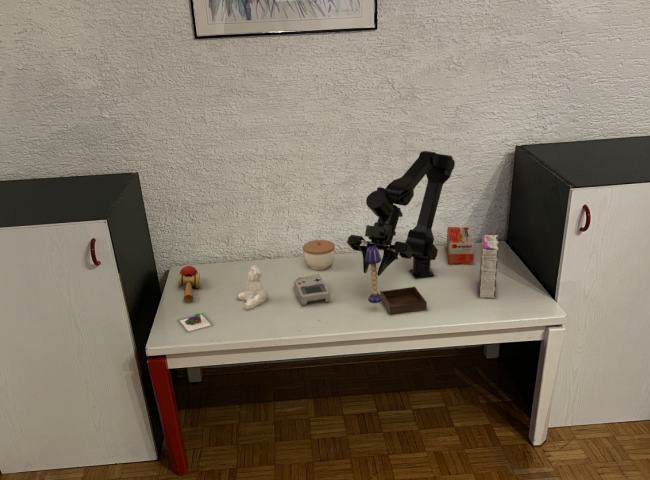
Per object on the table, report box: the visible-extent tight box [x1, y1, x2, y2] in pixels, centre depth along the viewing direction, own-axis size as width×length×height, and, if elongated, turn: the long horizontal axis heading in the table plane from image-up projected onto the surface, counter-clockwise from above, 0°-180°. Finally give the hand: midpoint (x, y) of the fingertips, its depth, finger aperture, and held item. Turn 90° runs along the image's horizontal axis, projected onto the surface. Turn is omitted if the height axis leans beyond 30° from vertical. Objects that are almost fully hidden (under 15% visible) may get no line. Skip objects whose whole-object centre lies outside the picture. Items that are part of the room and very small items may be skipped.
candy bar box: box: [478, 234, 499, 299], centre depth 211 cm, size 11×5×16 cm, turn 168°
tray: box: [379, 286, 428, 316], centre depth 210 cm, size 11×11×3 cm
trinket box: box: [302, 239, 336, 271], centre depth 236 cm, size 11×11×9 cm
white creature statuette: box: [238, 264, 268, 310], centre depth 214 cm, size 10×9×12 cm
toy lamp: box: [365, 246, 382, 304], centre depth 201 cm, size 5×5×17 cm
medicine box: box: [446, 226, 475, 265], centre depth 238 cm, size 15×8×8 cm, turn 174°
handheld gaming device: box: [293, 273, 331, 306], centre depth 218 cm, size 9×15×4 cm, turn 12°
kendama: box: [177, 265, 201, 303], centre depth 225 cm, size 8×6×18 cm
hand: (371, 273), depth 199 cm, fingers closed on toy lamp, 4 cm apart
